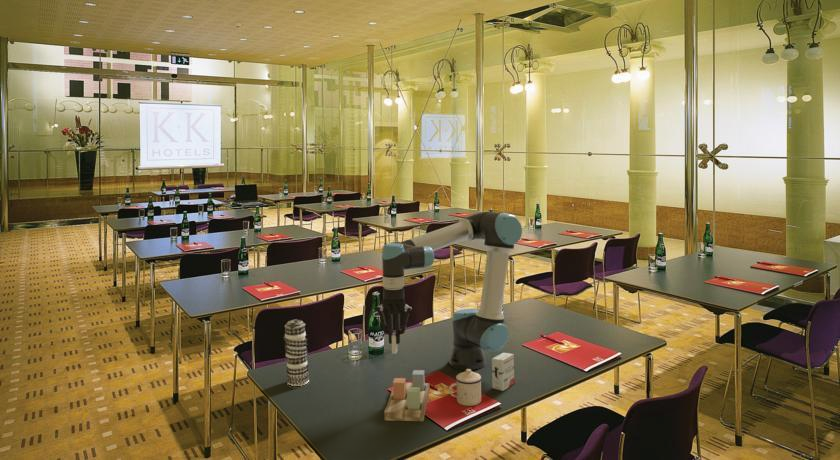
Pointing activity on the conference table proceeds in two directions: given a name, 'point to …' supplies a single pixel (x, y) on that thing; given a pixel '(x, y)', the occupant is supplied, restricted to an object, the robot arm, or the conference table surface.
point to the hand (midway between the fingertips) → (394, 352)
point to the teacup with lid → (467, 388)
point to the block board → (406, 407)
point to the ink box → (502, 371)
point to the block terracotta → (399, 388)
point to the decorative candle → (296, 353)
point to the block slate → (419, 379)
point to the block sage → (413, 398)
